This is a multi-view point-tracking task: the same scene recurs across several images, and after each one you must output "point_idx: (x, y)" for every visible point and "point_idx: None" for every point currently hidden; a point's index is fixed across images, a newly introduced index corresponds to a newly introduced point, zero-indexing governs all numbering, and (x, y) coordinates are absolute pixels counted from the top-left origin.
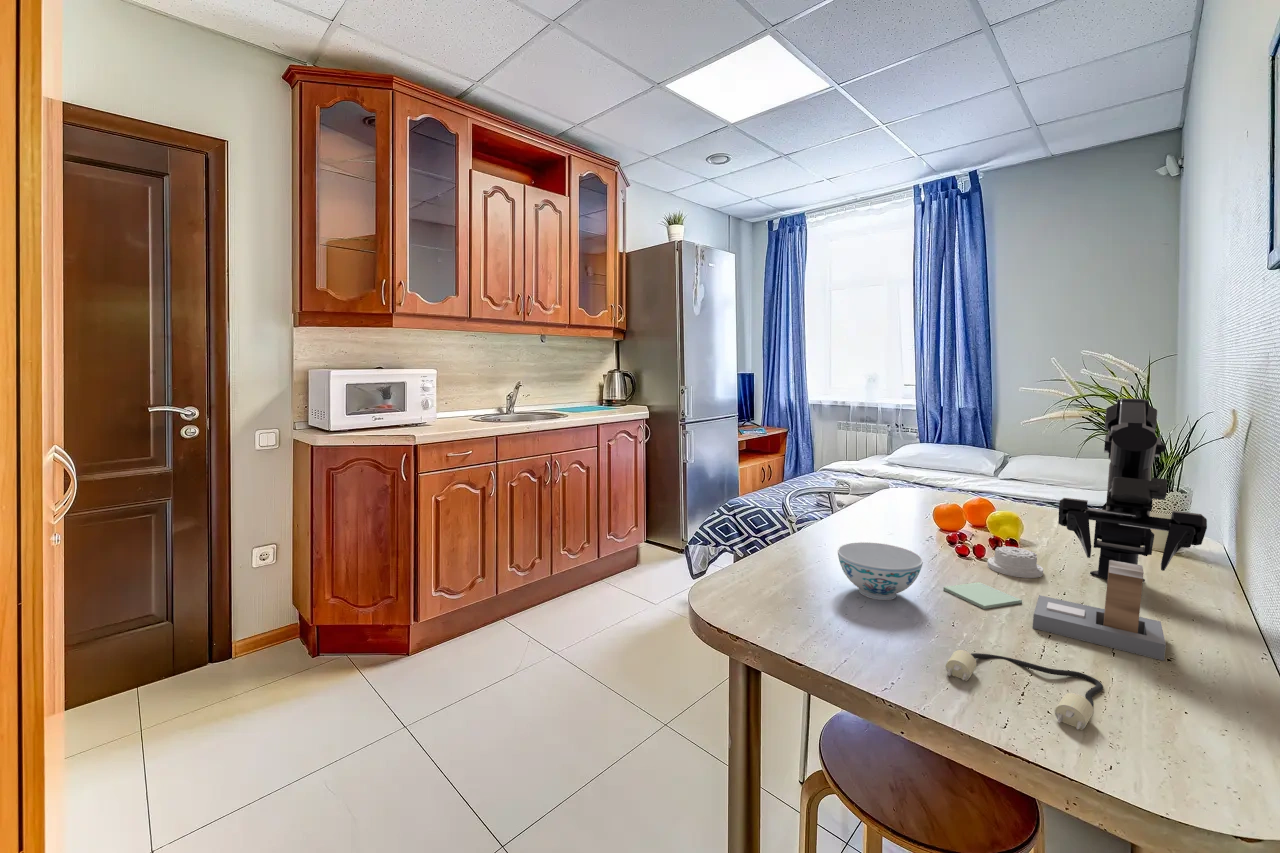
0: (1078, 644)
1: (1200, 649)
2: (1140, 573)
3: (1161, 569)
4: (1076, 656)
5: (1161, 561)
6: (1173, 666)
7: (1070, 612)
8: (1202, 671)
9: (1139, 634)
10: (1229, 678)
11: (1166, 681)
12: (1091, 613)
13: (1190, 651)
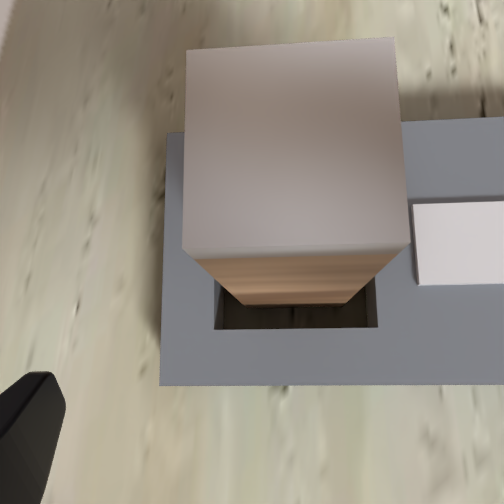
0: None
1: (73, 343)
2: (205, 54)
3: (61, 395)
4: (391, 14)
5: (27, 459)
6: (162, 135)
7: (463, 211)
8: (98, 155)
9: None
10: (44, 156)
11: (188, 21)
12: (392, 284)
13: (103, 299)
